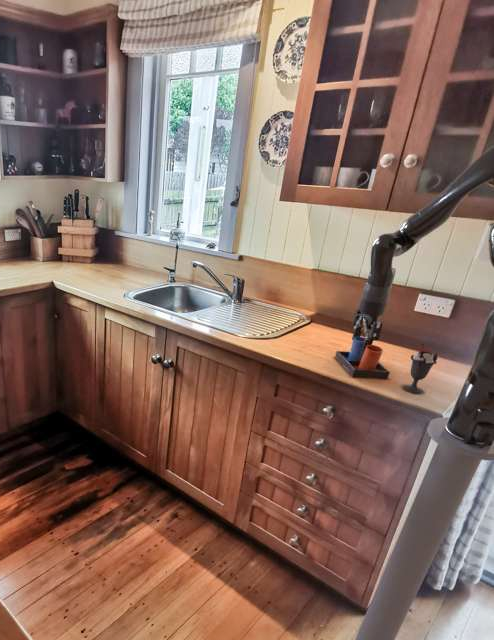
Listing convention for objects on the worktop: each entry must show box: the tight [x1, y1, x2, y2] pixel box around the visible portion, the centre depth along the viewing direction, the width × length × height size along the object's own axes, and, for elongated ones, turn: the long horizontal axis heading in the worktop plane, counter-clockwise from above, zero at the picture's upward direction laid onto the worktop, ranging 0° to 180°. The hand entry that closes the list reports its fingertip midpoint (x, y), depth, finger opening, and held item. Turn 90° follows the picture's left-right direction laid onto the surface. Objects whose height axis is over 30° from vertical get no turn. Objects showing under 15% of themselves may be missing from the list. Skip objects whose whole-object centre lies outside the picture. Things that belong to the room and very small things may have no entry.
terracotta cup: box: [358, 344, 384, 370], centre depth 148 cm, size 5×5×8 cm
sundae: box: [403, 343, 438, 394], centre depth 138 cm, size 7×7×15 cm
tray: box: [334, 350, 391, 380], centre depth 153 cm, size 15×11×3 cm
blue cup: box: [348, 336, 366, 361], centre depth 155 cm, size 5×5×8 cm
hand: (360, 345), depth 154 cm, fingers open, 8 cm apart
